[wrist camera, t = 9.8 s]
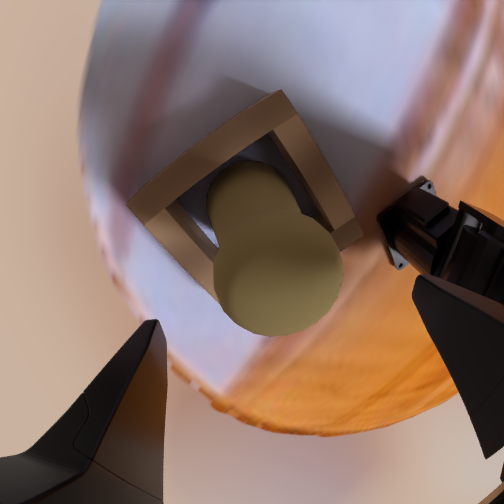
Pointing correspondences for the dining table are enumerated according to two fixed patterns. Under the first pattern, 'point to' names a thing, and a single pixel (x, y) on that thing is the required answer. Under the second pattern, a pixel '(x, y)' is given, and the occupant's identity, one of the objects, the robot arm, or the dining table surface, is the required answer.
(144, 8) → the dining table surface
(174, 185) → the socket block
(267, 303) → the cork
